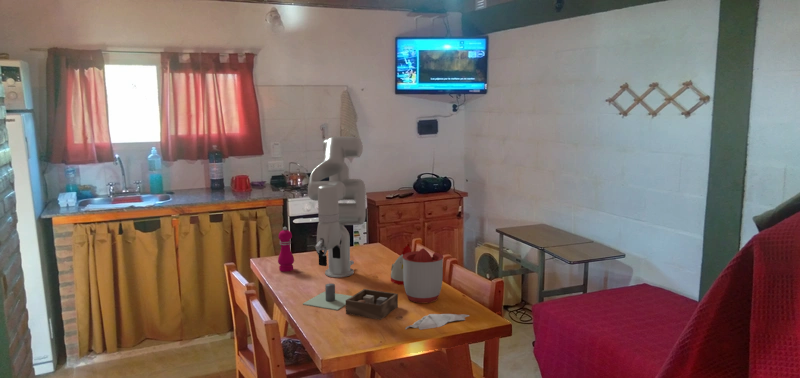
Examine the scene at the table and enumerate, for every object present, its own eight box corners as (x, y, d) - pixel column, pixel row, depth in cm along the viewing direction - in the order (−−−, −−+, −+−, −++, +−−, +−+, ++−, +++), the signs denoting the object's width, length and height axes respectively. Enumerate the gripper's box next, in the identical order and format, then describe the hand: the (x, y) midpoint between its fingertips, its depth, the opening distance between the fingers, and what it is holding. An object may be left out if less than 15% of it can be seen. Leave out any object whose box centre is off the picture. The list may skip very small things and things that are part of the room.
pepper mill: (290, 272, 249) (289, 228, 246) (275, 271, 251) (274, 228, 248) (296, 268, 256) (295, 225, 253) (282, 267, 258) (280, 224, 255)
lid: (324, 293, 223) (323, 277, 222) (357, 299, 217) (357, 281, 216) (302, 306, 209) (302, 288, 208) (337, 312, 203) (337, 293, 202)
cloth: (464, 312, 203) (464, 306, 203) (480, 326, 190) (480, 319, 190) (396, 319, 196) (396, 313, 196) (407, 334, 183) (407, 328, 183)
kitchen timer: (385, 282, 235) (385, 248, 233) (397, 273, 248) (397, 240, 245) (416, 286, 230) (416, 251, 228) (427, 277, 242) (427, 243, 240)
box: (364, 301, 212) (364, 288, 212) (397, 306, 207) (397, 293, 206) (345, 313, 200) (345, 300, 199) (380, 319, 194) (380, 306, 193)
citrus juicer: (448, 293, 222) (449, 244, 219) (437, 307, 206) (437, 255, 203) (411, 288, 227) (411, 241, 224) (397, 303, 211) (396, 251, 208)
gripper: (332, 212, 218) (333, 254, 221) (307, 222, 202) (308, 267, 205) (348, 213, 214) (349, 256, 218) (324, 224, 199) (326, 270, 202)
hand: (329, 261), depth 211 cm, fingers open, 9 cm apart
